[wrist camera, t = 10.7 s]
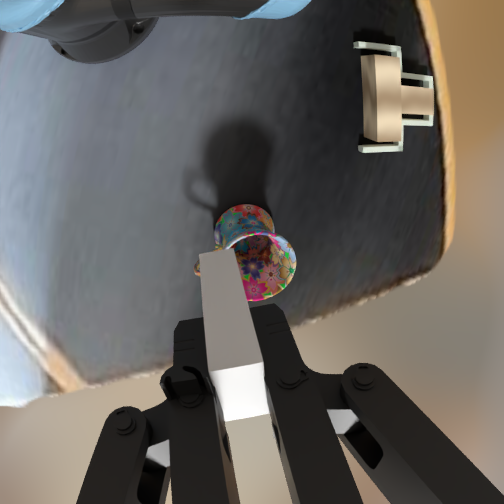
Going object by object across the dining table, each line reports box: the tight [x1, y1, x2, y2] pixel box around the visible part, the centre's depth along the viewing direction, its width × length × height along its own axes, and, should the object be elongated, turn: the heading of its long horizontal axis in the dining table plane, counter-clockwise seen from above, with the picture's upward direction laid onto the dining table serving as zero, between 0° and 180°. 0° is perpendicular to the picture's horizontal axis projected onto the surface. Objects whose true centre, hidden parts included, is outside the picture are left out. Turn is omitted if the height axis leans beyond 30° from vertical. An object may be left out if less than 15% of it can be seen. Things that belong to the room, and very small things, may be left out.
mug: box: [194, 204, 296, 301], centre depth 42 cm, size 12×9×11 cm
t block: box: [361, 55, 434, 142], centre depth 38 cm, size 12×10×4 cm
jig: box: [353, 41, 433, 153], centre depth 39 cm, size 16×13×2 cm
